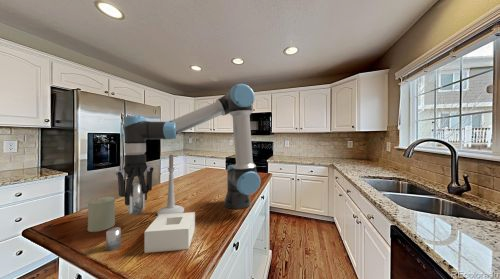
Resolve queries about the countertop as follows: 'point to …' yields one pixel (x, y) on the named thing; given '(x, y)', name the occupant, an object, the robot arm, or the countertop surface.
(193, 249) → the countertop surface
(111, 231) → the short pin
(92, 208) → the can
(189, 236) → the hole block
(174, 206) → the candlestick
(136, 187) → the long pin
